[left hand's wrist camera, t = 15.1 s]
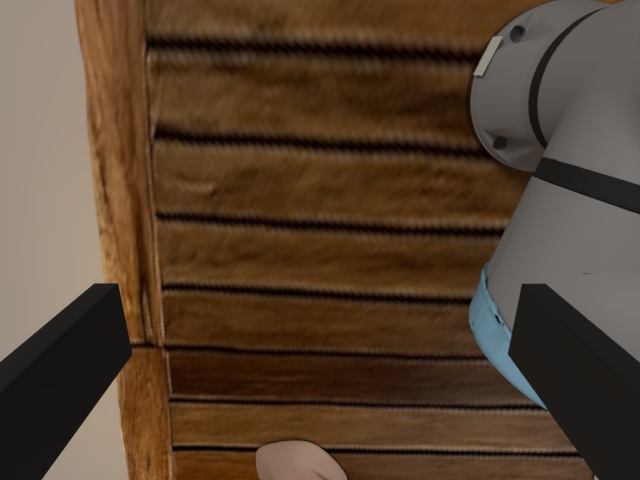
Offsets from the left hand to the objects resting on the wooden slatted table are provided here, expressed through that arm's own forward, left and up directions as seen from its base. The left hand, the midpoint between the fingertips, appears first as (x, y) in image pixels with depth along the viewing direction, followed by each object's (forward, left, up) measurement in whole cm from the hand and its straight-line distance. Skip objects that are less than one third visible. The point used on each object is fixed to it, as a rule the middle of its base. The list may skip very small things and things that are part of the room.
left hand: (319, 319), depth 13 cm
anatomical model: (+3, +44, -30) cm, 53 cm away
